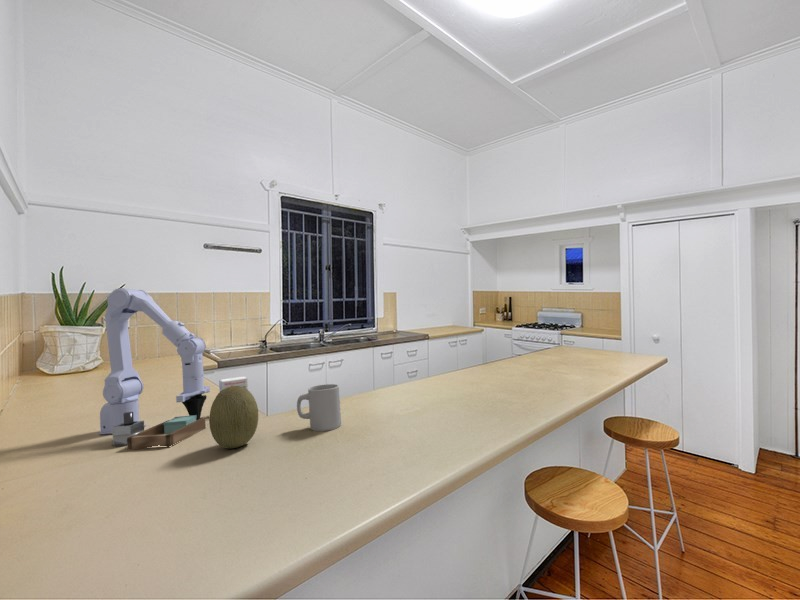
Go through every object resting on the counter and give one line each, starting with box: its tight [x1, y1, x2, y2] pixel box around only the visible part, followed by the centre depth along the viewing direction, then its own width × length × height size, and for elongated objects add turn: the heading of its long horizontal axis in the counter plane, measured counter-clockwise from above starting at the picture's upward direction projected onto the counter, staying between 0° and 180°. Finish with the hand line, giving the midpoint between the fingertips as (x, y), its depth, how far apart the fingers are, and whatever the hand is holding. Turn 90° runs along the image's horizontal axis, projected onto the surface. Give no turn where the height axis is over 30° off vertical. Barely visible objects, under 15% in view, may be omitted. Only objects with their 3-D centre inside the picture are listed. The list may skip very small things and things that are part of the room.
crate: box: [162, 415, 197, 434], centre depth 109 cm, size 6×6×4 cm
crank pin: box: [123, 412, 134, 426], centre depth 103 cm, size 2×2×6 cm
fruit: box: [208, 386, 259, 449], centre depth 92 cm, size 11×11×15 cm
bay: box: [127, 417, 207, 450], centre depth 103 cm, size 11×16×3 cm
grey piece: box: [112, 420, 145, 448], centre depth 102 cm, size 7×7×5 cm
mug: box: [296, 383, 342, 432], centre depth 104 cm, size 12×8×11 cm
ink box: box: [218, 375, 249, 392], centre depth 129 cm, size 8×5×12 cm, turn 124°
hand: (195, 420), depth 116 cm, fingers closed
